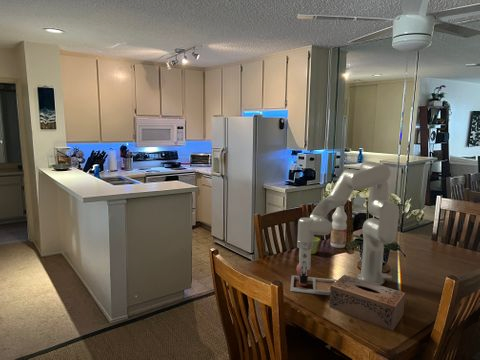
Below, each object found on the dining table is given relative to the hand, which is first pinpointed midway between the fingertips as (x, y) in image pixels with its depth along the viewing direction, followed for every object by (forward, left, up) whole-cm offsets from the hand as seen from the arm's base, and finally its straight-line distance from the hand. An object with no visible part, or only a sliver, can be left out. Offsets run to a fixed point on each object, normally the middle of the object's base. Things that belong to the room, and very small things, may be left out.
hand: (303, 279), depth 164 cm
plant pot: (-4, -46, -4) cm, 46 cm away
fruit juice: (-21, -62, -4) cm, 66 cm away
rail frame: (-5, 0, -3) cm, 6 cm away
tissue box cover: (-26, +17, -4) cm, 31 cm away
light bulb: (0, 0, -4) cm, 4 cm away
